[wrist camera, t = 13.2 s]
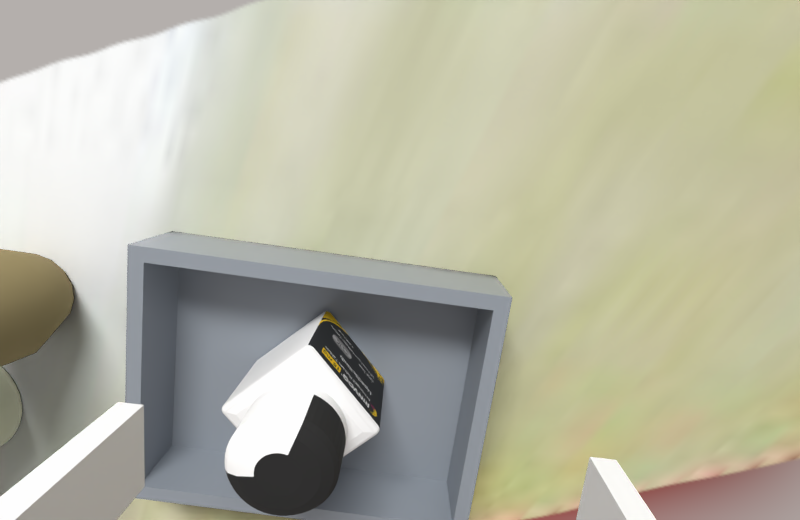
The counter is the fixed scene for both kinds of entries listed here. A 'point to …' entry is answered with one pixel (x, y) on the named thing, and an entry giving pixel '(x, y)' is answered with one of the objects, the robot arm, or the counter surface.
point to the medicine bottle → (301, 418)
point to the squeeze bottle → (30, 303)
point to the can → (8, 407)
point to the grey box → (275, 322)
